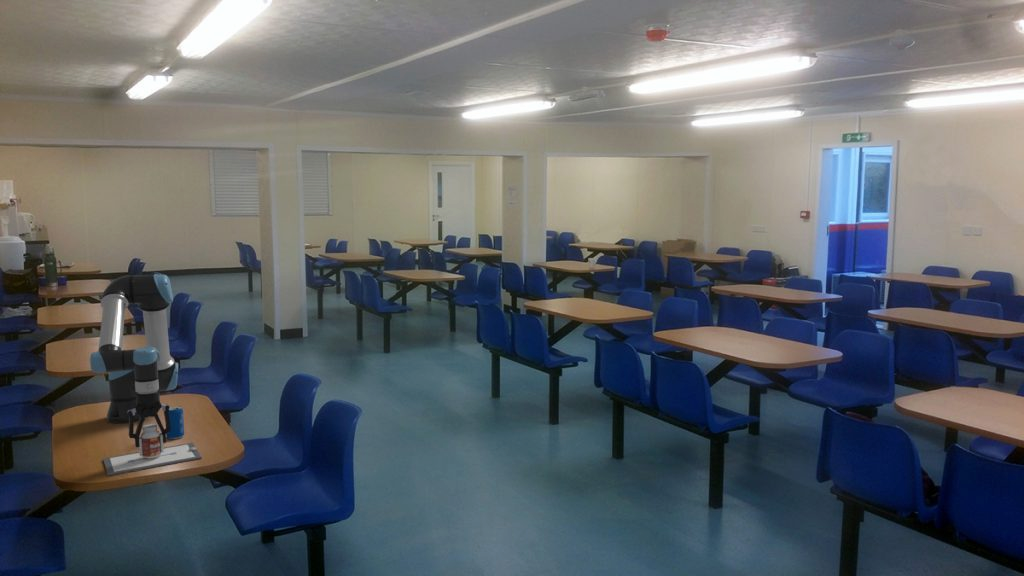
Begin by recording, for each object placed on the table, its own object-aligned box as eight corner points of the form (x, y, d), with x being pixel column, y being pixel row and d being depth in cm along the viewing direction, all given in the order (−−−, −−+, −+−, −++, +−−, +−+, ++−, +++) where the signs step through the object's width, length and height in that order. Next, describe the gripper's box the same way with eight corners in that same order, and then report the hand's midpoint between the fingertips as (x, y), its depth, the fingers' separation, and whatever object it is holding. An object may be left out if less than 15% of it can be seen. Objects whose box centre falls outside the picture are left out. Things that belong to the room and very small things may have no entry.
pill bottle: (152, 459, 262) (150, 429, 260) (138, 457, 264) (136, 428, 262) (165, 453, 268) (163, 424, 266) (151, 451, 270) (149, 422, 268)
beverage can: (177, 440, 286) (175, 410, 284) (162, 439, 287) (160, 409, 285) (188, 435, 292) (186, 405, 290) (173, 433, 293) (171, 404, 291)
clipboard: (103, 459, 265) (102, 456, 265) (192, 444, 282) (192, 440, 281) (108, 476, 250) (107, 472, 250) (201, 458, 267) (201, 455, 267)
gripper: (118, 398, 254) (123, 462, 257) (178, 389, 265) (182, 451, 268) (115, 392, 260) (120, 455, 263) (174, 385, 271) (178, 445, 274)
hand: (151, 453), depth 266 cm, fingers closed on pill bottle, 6 cm apart
